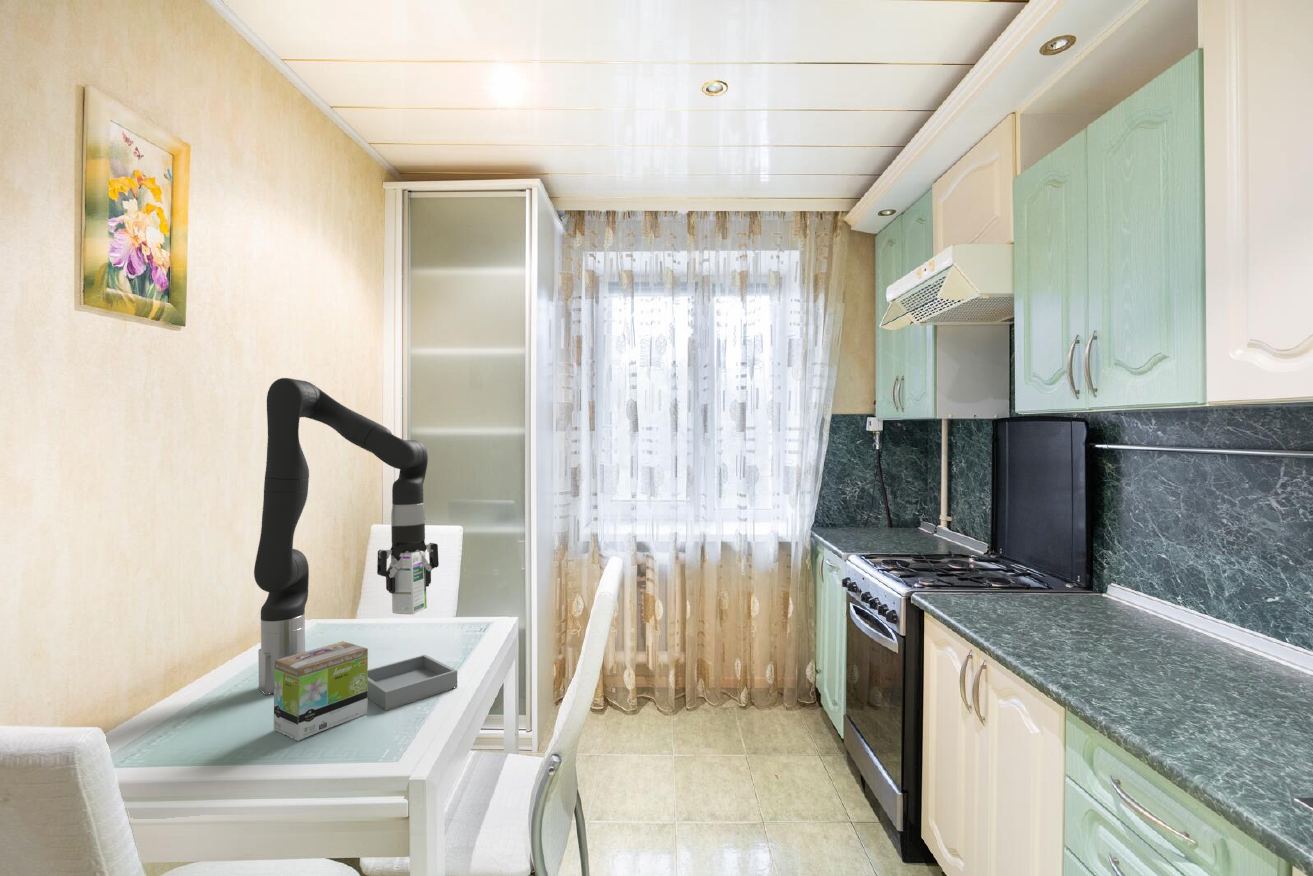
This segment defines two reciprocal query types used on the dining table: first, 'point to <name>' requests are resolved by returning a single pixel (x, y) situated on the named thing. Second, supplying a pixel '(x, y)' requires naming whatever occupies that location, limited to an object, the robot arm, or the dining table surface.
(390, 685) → the tray
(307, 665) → the tea box
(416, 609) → the syrup box
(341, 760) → the dining table surface
